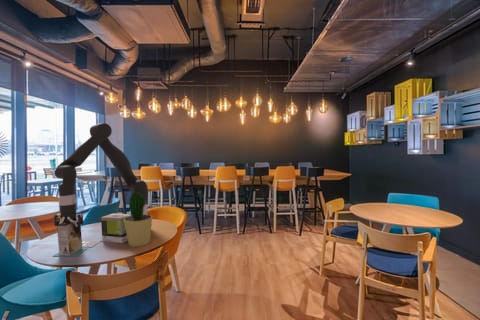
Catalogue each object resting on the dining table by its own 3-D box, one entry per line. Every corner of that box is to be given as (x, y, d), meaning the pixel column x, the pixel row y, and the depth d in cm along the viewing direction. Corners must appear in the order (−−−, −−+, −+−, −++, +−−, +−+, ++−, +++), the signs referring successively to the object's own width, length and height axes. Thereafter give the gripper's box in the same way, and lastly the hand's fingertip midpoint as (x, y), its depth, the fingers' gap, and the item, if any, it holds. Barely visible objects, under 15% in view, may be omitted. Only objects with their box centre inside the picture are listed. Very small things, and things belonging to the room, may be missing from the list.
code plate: (101, 240, 158) (101, 240, 158) (91, 247, 148) (91, 246, 148) (75, 241, 159) (75, 240, 159) (63, 247, 149) (63, 247, 149)
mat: (87, 248, 146) (87, 248, 146) (75, 256, 136) (75, 255, 136) (66, 248, 146) (66, 248, 146) (52, 256, 136) (52, 256, 136)
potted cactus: (142, 249, 143) (139, 194, 141) (118, 246, 148) (115, 193, 146) (158, 239, 158) (156, 189, 156) (137, 237, 162) (134, 188, 161)
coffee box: (72, 248, 146) (70, 219, 145) (82, 248, 145) (81, 219, 144) (58, 255, 137) (56, 224, 136) (69, 255, 136) (67, 224, 135)
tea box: (134, 237, 162) (133, 214, 161) (121, 243, 152) (120, 218, 151) (114, 235, 167) (113, 212, 166) (101, 241, 157) (100, 216, 156)
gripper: (85, 201, 143) (87, 231, 144) (59, 202, 144) (61, 231, 145) (76, 204, 136) (78, 235, 137) (49, 205, 136) (51, 236, 137)
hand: (69, 233), depth 141 cm, fingers open, 8 cm apart
